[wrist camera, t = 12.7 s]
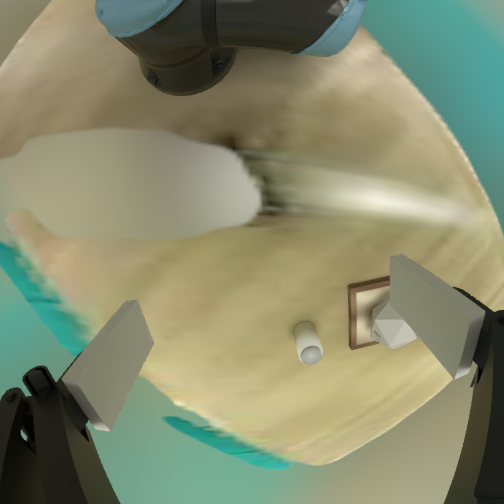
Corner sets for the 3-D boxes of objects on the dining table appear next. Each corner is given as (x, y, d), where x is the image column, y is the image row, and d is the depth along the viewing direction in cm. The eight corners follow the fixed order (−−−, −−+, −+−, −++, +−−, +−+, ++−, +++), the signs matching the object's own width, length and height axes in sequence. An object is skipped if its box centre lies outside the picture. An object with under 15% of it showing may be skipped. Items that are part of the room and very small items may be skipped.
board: (347, 285, 46) (350, 288, 45) (411, 271, 46) (415, 274, 44) (349, 345, 50) (351, 350, 48) (407, 330, 49) (410, 334, 47)
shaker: (291, 323, 48) (297, 349, 41) (314, 319, 48) (323, 344, 41) (294, 341, 49) (300, 368, 42) (315, 338, 49) (324, 363, 42)
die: (378, 281, 45) (367, 325, 38) (426, 290, 41) (422, 337, 34) (372, 312, 50) (359, 354, 44) (414, 321, 46) (407, 365, 39)
